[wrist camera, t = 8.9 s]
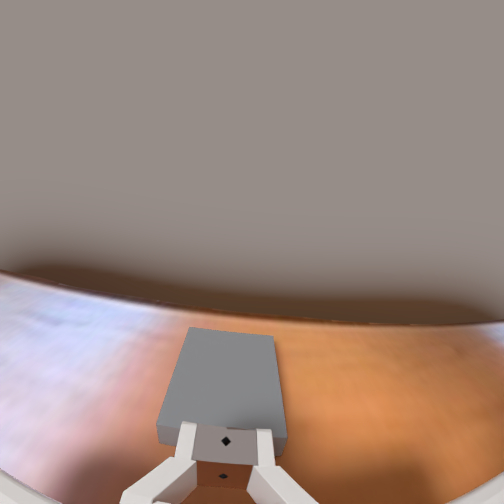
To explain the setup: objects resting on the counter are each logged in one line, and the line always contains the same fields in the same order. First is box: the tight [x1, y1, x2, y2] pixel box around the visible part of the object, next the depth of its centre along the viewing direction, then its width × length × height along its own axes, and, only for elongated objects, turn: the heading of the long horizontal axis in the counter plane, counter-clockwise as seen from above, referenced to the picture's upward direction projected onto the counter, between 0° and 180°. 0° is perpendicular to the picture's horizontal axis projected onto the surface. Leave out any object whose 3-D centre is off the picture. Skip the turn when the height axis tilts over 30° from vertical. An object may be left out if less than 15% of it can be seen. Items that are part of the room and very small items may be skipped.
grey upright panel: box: [156, 327, 288, 456], centre depth 18 cm, size 2×7×11 cm
